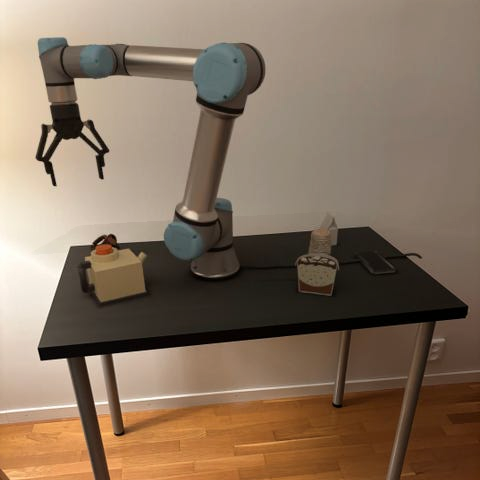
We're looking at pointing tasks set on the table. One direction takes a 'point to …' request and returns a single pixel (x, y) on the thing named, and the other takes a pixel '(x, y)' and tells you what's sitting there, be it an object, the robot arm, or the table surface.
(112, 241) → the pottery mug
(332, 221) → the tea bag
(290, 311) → the table surface
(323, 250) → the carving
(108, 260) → the kettle
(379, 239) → the table surface
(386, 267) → the phone
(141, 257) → the kettle handle and spout
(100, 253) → the button
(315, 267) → the food container
